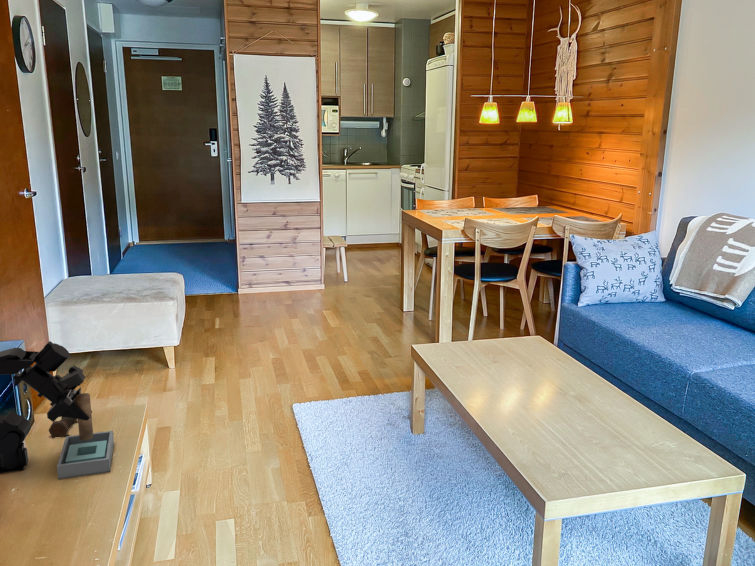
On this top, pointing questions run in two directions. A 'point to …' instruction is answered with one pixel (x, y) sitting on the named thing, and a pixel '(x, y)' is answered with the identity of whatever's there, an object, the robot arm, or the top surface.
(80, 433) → the peg
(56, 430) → the bolt
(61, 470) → the rim box
